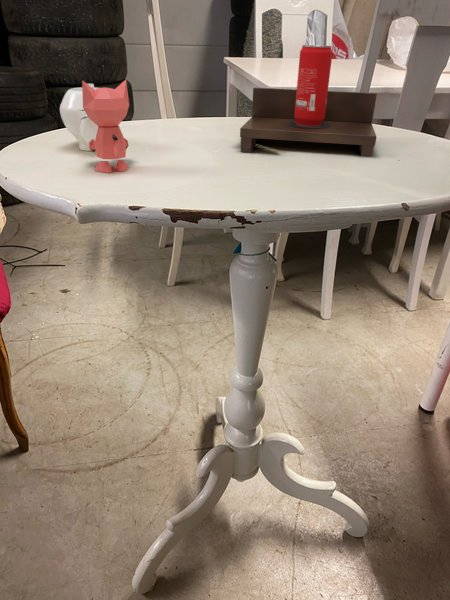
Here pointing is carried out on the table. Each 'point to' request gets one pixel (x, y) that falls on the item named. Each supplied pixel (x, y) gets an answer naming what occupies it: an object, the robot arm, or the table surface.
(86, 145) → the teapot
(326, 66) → the beverage can
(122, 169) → the cat figurine
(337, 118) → the bench
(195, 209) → the table surface
